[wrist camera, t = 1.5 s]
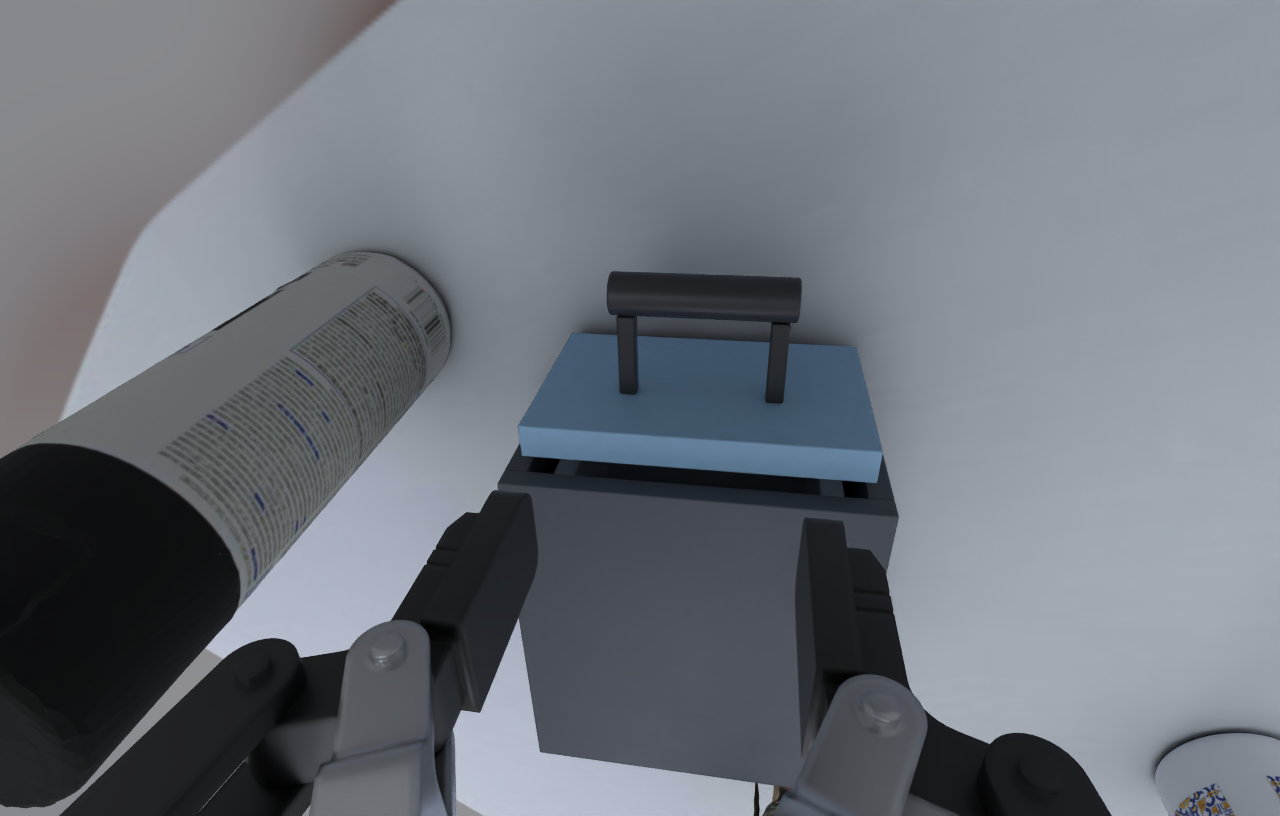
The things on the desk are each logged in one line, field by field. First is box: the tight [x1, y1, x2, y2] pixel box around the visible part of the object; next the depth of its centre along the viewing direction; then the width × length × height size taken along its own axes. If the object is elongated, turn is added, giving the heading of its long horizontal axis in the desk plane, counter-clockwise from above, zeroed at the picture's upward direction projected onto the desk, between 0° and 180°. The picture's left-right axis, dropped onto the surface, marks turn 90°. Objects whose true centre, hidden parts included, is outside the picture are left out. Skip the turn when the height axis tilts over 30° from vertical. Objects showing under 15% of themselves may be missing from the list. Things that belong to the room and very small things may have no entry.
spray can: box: [0, 252, 451, 808], centre depth 22 cm, size 7×7×20 cm
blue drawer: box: [518, 271, 883, 497], centre depth 27 cm, size 18×11×7 cm, turn 1°
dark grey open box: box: [498, 444, 899, 788], centre depth 29 cm, size 15×13×9 cm
